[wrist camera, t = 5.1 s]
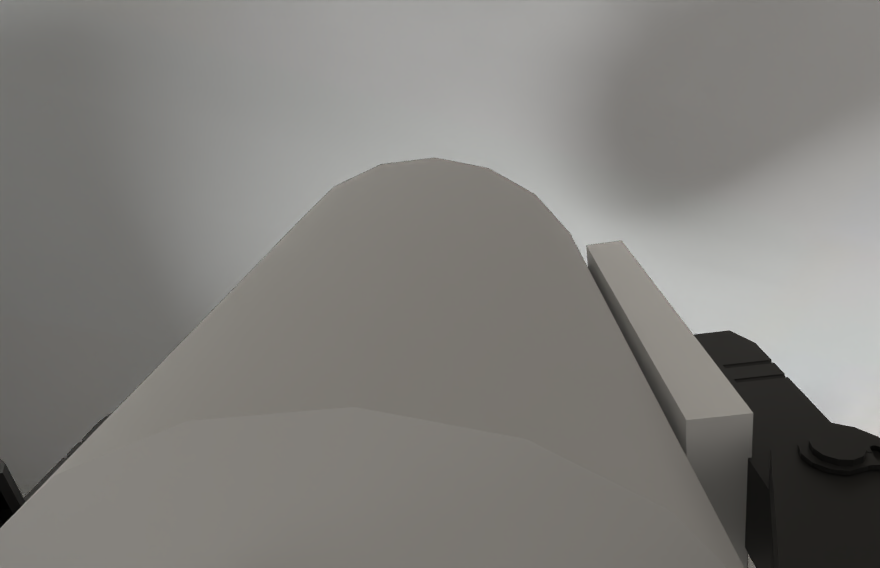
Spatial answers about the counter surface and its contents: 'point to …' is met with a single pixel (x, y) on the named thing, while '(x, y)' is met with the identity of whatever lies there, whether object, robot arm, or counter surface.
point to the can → (389, 409)
